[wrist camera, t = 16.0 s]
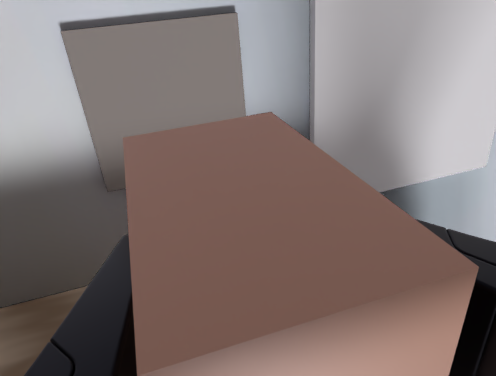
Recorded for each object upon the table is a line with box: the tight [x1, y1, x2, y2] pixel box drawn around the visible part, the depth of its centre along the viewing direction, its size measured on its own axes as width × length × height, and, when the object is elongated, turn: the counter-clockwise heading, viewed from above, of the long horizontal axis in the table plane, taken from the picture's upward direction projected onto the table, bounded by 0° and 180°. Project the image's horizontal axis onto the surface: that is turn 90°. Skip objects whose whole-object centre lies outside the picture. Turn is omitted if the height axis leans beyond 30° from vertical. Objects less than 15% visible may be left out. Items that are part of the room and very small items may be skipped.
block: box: [123, 112, 479, 376], centre depth 8 cm, size 4×4×7 cm
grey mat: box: [310, 0, 496, 193], centre depth 22 cm, size 14×20×1 cm
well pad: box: [61, 12, 246, 192], centre depth 19 cm, size 8×8×1 cm
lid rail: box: [0, 286, 88, 376], centre depth 19 cm, size 34×2×9 cm, turn 95°
